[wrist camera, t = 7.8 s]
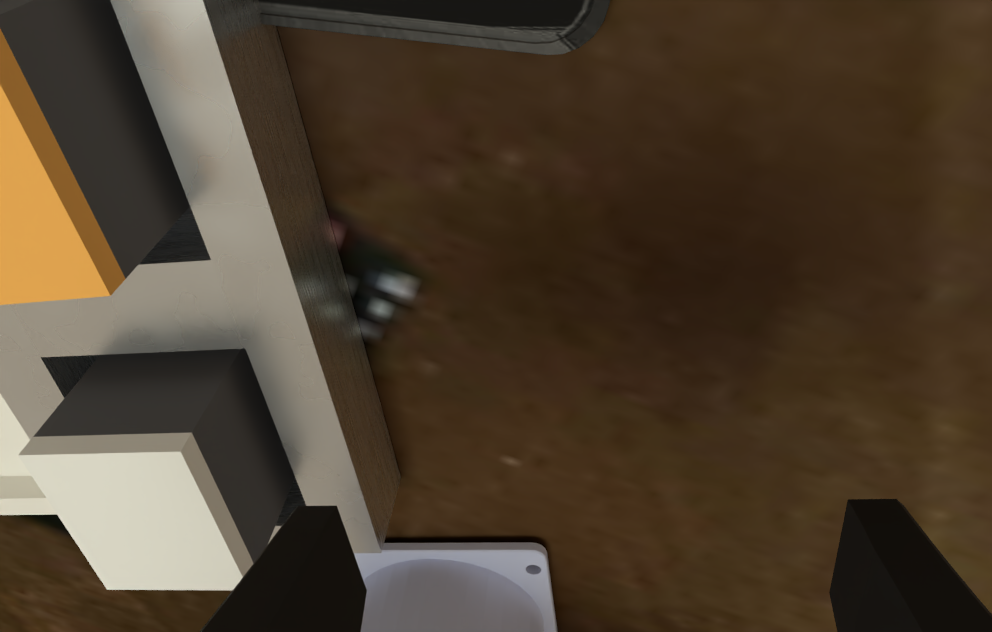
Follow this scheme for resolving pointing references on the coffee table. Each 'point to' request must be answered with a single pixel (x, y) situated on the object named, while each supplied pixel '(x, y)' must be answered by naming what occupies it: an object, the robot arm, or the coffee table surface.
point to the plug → (76, 154)
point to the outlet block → (230, 265)
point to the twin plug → (165, 468)
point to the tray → (17, 471)
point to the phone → (450, 21)
